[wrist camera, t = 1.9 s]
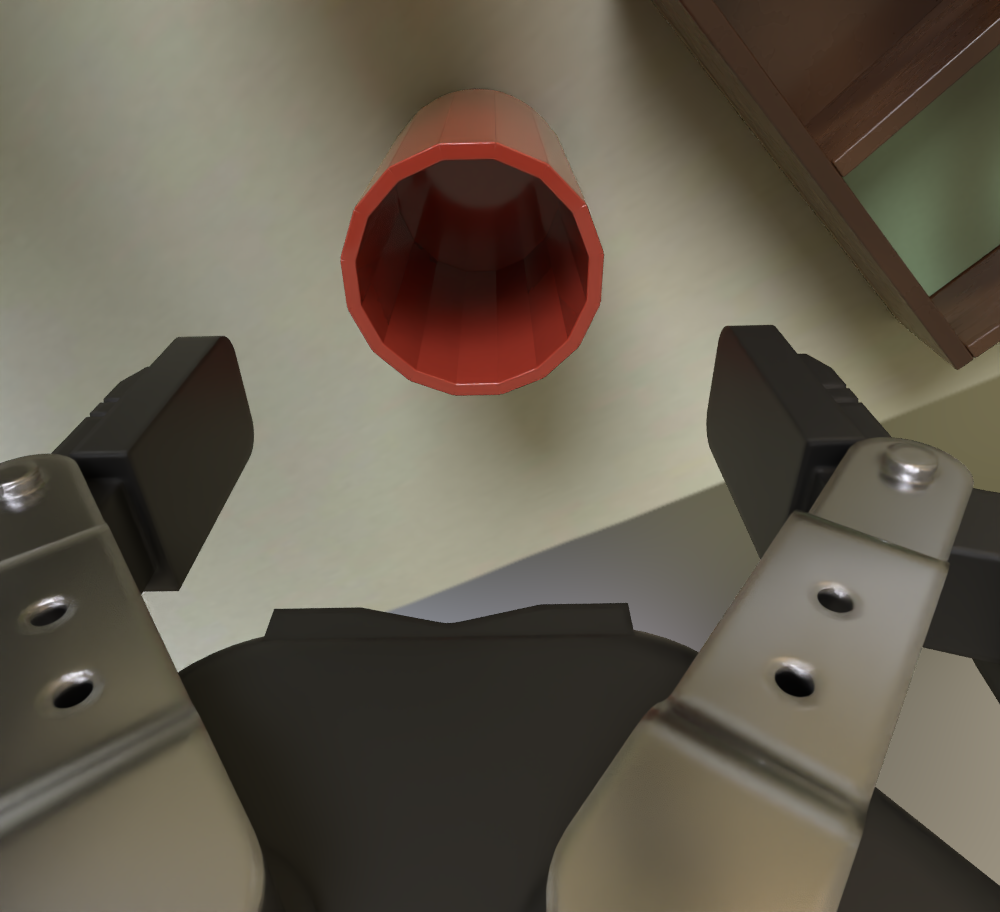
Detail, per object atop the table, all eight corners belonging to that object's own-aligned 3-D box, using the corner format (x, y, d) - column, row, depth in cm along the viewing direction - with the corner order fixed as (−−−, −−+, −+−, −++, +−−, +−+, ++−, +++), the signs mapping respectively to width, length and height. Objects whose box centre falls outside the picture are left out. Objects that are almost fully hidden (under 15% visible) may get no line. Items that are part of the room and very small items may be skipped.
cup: (398, 276, 26) (359, 398, 18) (379, 90, 22) (322, 145, 15) (564, 272, 26) (595, 393, 18) (570, 86, 22) (611, 139, 15)
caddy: (898, 321, 27) (957, 371, 23) (603, -62, 20) (626, -70, 17) (1140, 142, 23) (1252, 169, 20) (881, -391, 17) (981, -486, 13)
